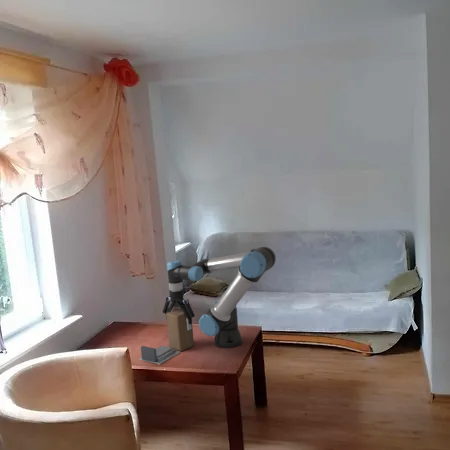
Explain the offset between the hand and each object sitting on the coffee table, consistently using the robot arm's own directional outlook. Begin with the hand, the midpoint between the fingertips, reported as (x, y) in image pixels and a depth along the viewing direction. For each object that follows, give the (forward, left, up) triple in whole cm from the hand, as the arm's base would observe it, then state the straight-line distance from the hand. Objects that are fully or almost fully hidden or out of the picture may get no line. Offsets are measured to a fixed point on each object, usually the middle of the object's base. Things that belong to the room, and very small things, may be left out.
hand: (179, 327), depth 292 cm
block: (0, 0, -11) cm, 11 cm away
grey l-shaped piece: (+3, +14, -11) cm, 18 cm away
